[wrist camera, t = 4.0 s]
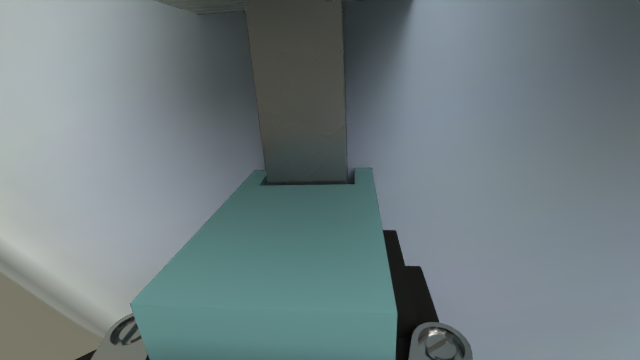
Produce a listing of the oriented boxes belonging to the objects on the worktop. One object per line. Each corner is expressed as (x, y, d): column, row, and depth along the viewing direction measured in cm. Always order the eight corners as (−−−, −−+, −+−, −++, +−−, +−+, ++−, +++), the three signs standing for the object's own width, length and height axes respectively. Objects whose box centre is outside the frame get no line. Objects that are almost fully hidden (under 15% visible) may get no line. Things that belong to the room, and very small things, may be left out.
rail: (343, 1, 11) (340, -12, 9) (354, 413, 19) (354, 452, 17) (261, 9, 11) (243, -3, 9) (306, 410, 19) (301, 448, 17)
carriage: (371, 167, 12) (397, 312, 5) (371, 284, 14) (388, 505, 7) (254, 170, 13) (130, 303, 6) (270, 282, 15) (194, 483, 8)
